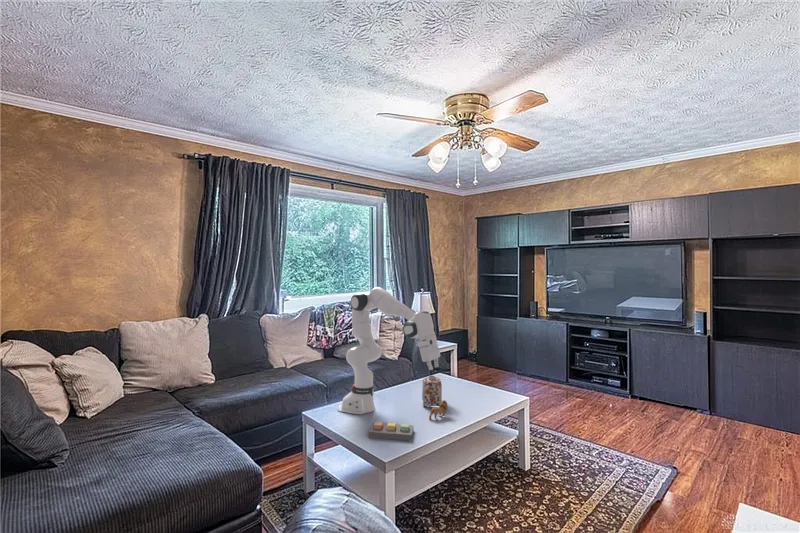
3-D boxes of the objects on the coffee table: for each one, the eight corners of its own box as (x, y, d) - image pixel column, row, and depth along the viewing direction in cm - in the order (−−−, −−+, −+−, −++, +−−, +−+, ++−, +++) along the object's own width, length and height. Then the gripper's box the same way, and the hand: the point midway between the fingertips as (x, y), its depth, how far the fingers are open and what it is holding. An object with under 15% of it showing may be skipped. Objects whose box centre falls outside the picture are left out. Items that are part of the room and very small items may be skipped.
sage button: (400, 433, 201) (400, 426, 201) (401, 430, 205) (401, 423, 205) (408, 434, 201) (408, 426, 201) (408, 431, 205) (409, 423, 205)
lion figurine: (441, 413, 234) (442, 398, 234) (449, 415, 231) (449, 400, 231) (426, 420, 223) (426, 404, 223) (434, 422, 220) (434, 406, 220)
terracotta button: (373, 432, 203) (373, 424, 203) (375, 428, 207) (375, 421, 207) (381, 432, 202) (381, 425, 202) (382, 429, 206) (382, 422, 206)
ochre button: (387, 432, 202) (387, 425, 202) (388, 429, 206) (388, 422, 206) (394, 433, 202) (394, 426, 202) (395, 430, 206) (395, 423, 206)
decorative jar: (441, 407, 243) (442, 379, 243) (422, 407, 243) (423, 378, 243) (440, 401, 255) (440, 373, 255) (422, 400, 255) (422, 373, 255)
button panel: (368, 437, 199) (368, 431, 199) (372, 428, 211) (372, 422, 211) (411, 440, 197) (411, 434, 197) (413, 430, 208) (413, 425, 208)
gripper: (429, 341, 214) (434, 366, 212) (416, 344, 196) (421, 372, 193) (439, 339, 212) (445, 364, 210) (427, 342, 193) (433, 370, 191)
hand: (434, 368), depth 201 cm, fingers open, 8 cm apart
